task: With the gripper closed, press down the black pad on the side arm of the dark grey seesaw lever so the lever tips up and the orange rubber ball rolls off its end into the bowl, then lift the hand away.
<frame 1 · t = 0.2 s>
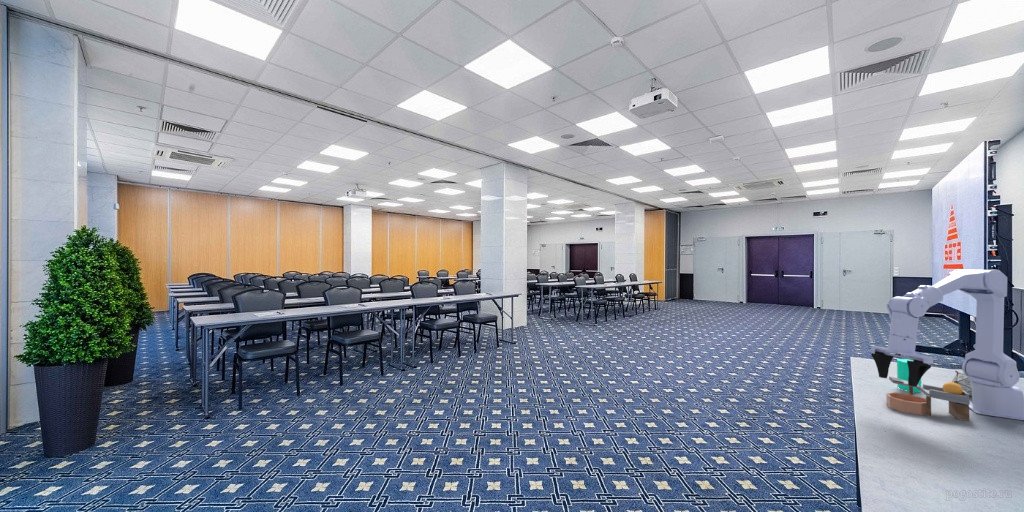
hand: (897, 381, 113), 11 cm above the table, tool pointing down, fingers open, 7 cm apart
bowl: (907, 408, 119), on the table
candle: (909, 390, 137), on the table
ball: (952, 389, 114), point 8 cm above the table, tilted 26°, touching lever
lever stand: (923, 411, 117), on the table
game die: (969, 396, 130), on the table
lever: (926, 386, 120), point 7 cm above the table, hinge at -6.0°, touching ball
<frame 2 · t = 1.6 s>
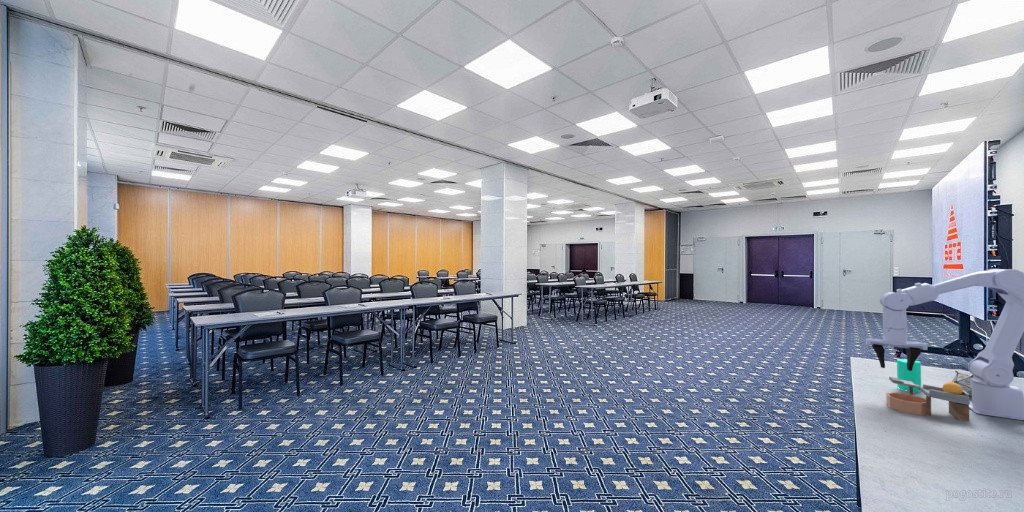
hand: (895, 368, 127), 10 cm above the table, tool pointing down, fingers open, 6 cm apart
nothing on the table moved.
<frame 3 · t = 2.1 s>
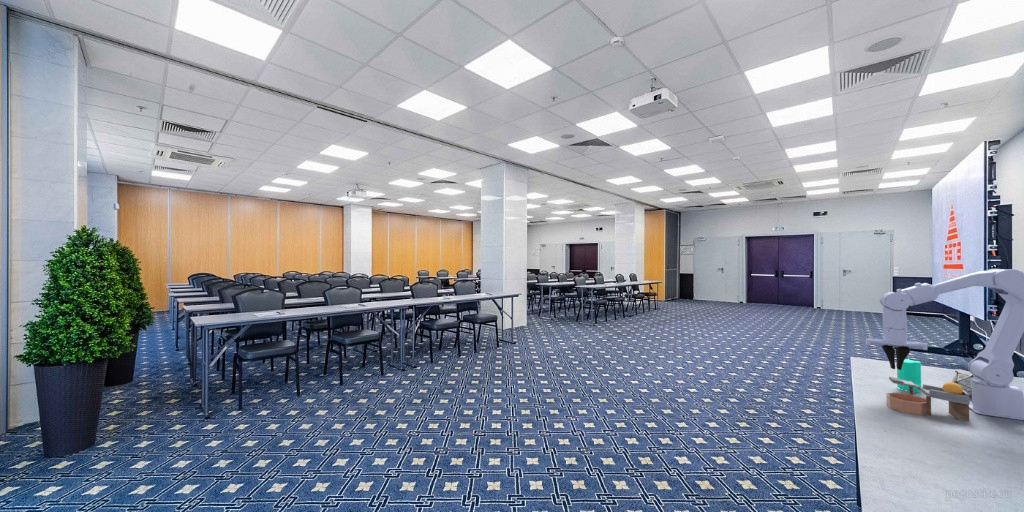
hand: (895, 368, 127), 10 cm above the table, tool pointing down, fingers closed
nothing on the table moved.
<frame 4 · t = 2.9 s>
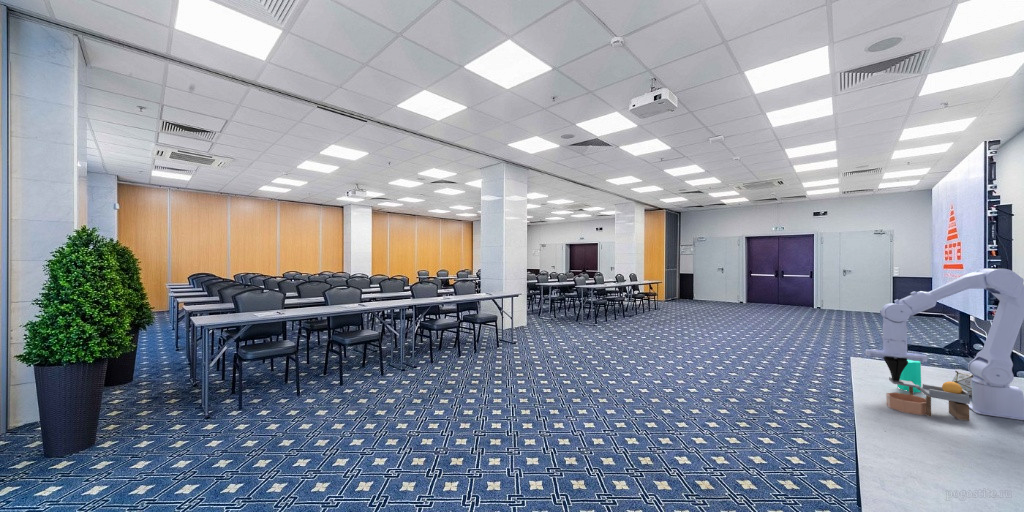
hand: (895, 380, 127), 7 cm above the table, tool pointing down, fingers closed, pressing on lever
ball: (952, 388, 114), point 8 cm above the table, tilted 24°
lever: (926, 386, 120), point 7 cm above the table, hinge at -3.9°, touching gripper
everything else where it was.
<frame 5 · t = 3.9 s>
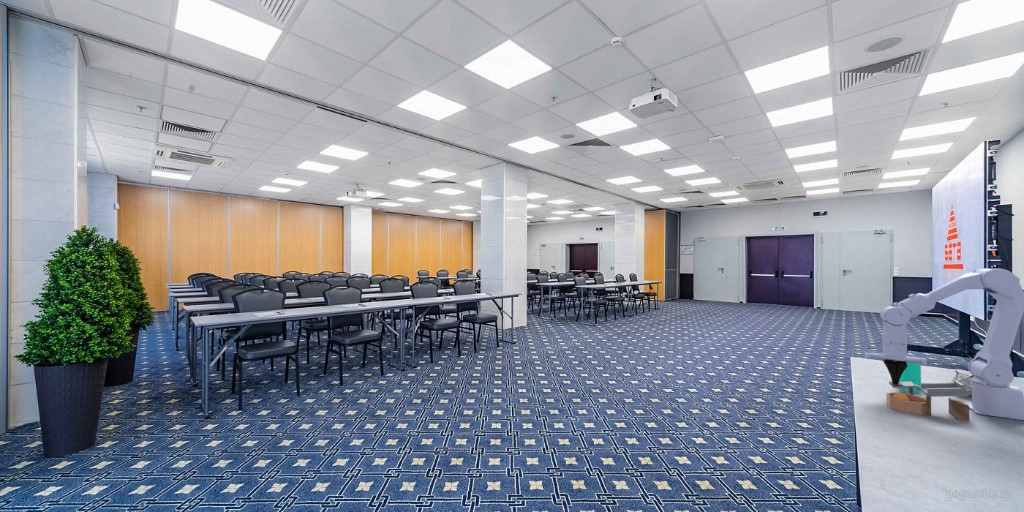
hand: (895, 383, 127), 6 cm above the table, tool pointing down, fingers closed, pressing on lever
ball: (900, 399, 120), point 2 cm above the table, tilted 48°, touching bowl
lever: (924, 384, 120), point 7 cm above the table, hinge at 11.3°, touching gripper
everything else where it was.
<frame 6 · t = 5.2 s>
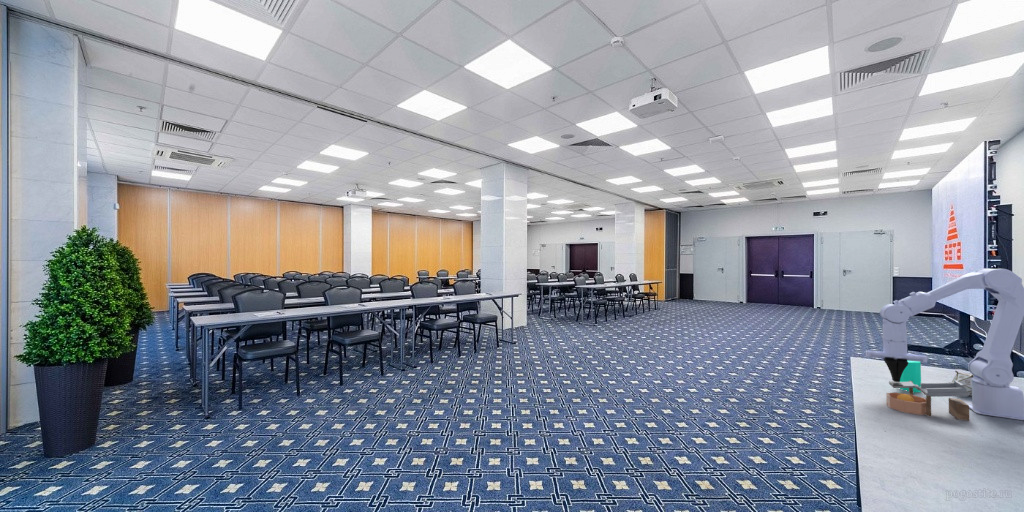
hand: (896, 381, 127), 6 cm above the table, tool pointing down, fingers closed
ball: (905, 400, 119), point 2 cm above the table, tilted 82°, touching bowl
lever: (924, 384, 120), point 7 cm above the table, hinge at 11.4°
everything else where it was.
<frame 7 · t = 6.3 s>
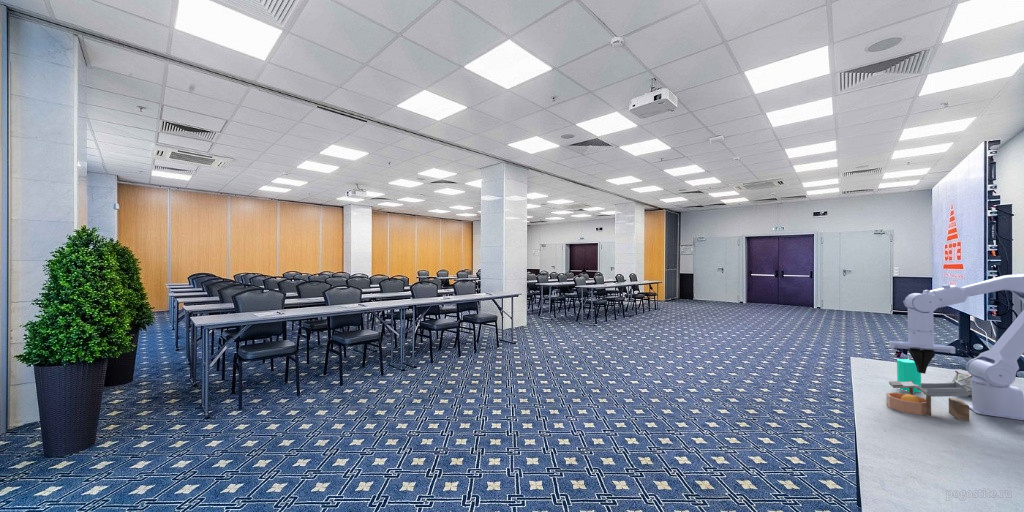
hand: (921, 372, 122), 10 cm above the table, tool pointing down, fingers closed
ball: (910, 401, 119), point 2 cm above the table, tilted 110°, touching bowl
everything else where it was.
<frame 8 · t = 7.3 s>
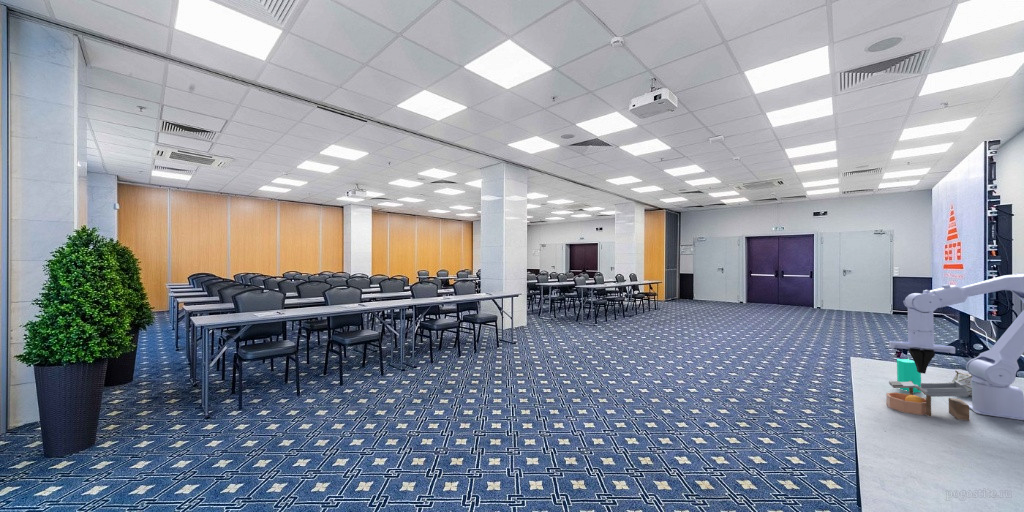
hand: (921, 372, 122), 10 cm above the table, tool pointing down, fingers closed
ball: (914, 401, 118), point 2 cm above the table, tilted 135°, touching bowl
everything else where it was.
at the end: ball inside the target area on the bowl (1.6 cm from its centre), point 2.5 cm above the bowl's base; ball touching bowl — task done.
